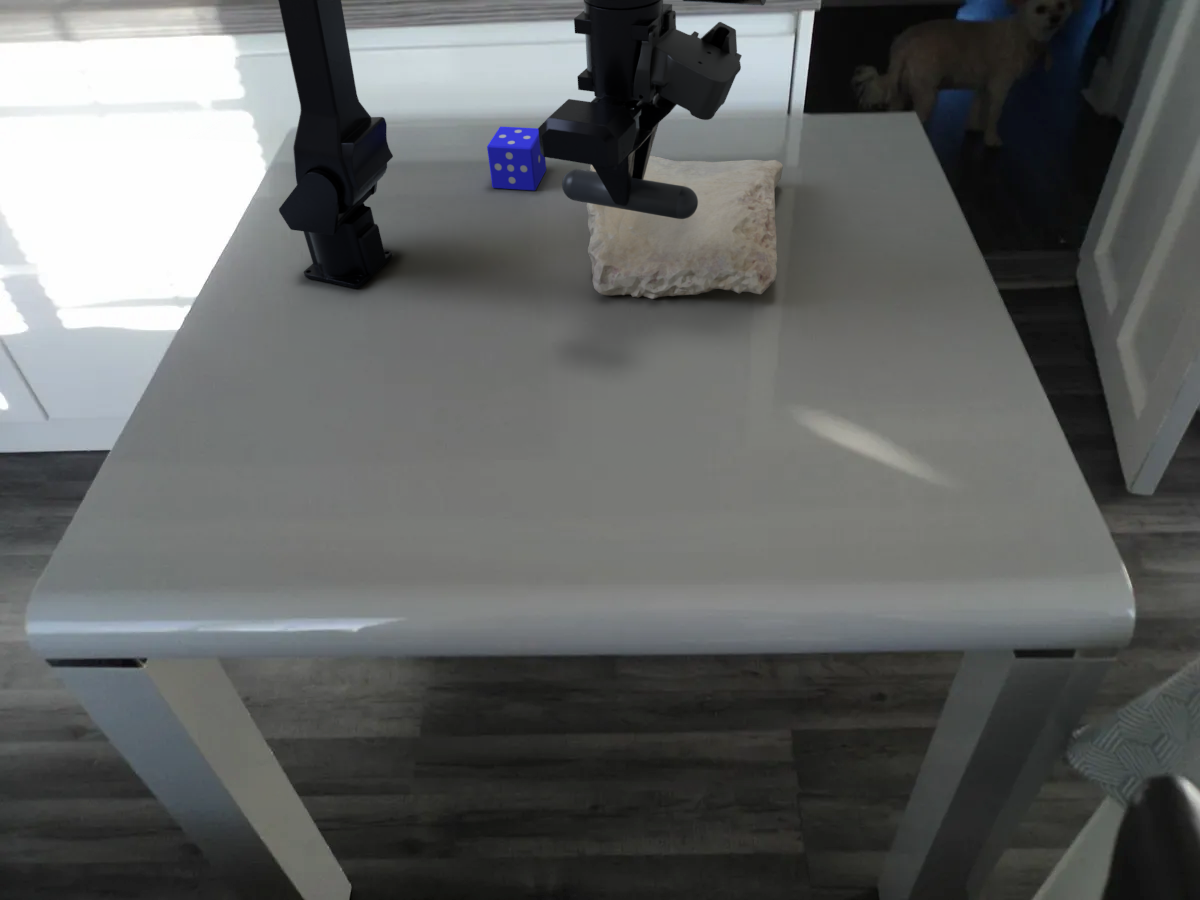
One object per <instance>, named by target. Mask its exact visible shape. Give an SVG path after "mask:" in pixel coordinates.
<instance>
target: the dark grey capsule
mask: <svg viewBox="0 0 1200 900" xmlns="http://www.w3.org/2000/svg"><path fill="white" fill-rule="evenodd" d="M561 187H562V191H563V193H564V195H565V196H566V197H567V198H568V199H569V200H571V201H575V202H581V203H585V204H587V203H591V204H597V205H603V206H608V207H614V208H620V209H625V210H631V211H637V212H642V213H648V214H654V215H659V216H665V217H671V218H676V219H686V218H689V217H690V216H692V215H693V214H694V213H695V211H696V209H697V206H698V199H697V196H696V194H695V192H694V191H693V190H692V189H690V188H688V187H685V186H680V185H673V184H667V183H661V182H655V181H649V180H643V179H637V178H632V182H631V190H630V196H629V201H628V204H627V205H626V206H622V205H617V204H615V203H614V202H613V200H612V198H611V196H610V195H609V193H608V191H607V190H606V188H605V186H604V184H603V183H602V181H601V179H600V177H599V176H598V174H597V172H594V171H591V170H587V169H581V168H573V169H571V170H569V171H568V172H567V173H566V174H565V175H564V176H563V179H562V181H561Z"/></svg>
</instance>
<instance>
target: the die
mask: <svg viewBox="0 0 1200 900" xmlns="http://www.w3.org/2000/svg"><path fill="white" fill-rule="evenodd" d="M538 128H539V127H537V128H536V127H519V126H518V127H516V126H499V127H498V129H497V131H496V132H495V133H494V135H493V137H492V138H491V139H490V141H489V143H488V144H487V146H486V149H487V157H488V165H489V171H490V178H491V179H490V180H491V187H492V188H493V189H498V190H499V189H500V190H517V191H531V192H532V191H533V192H535V191H536V190H537V188H538V187H539V184H540V183H541V181H542V179H543V177H544V175H545V173H546V172H547V165H546V163H547V162H546V157H544V156H543V155H542V154H541V153H540V142H539V131H538Z"/></svg>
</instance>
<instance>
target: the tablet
mask: <svg viewBox="0 0 1200 900" xmlns="http://www.w3.org/2000/svg"><path fill="white" fill-rule="evenodd" d="M783 168H784V166H783V164H782V163H781V162H780V161H779V160H777V159H769V160H760V159H745V160H729V161H725V160H724V161H723V160H721V161H704V160H685V161H684V160H683V161H681V160H680V161H679V160H672V159H667V158H664V157H660V156H654V155H651V154H650V156H649V160H648V164H647V168H646V172H645V175H644V179H643V180H649V181H655V182H661V183H667V184H673V185H680V186H685V187H688V188H690V189H692V190H693V191H694V192H695V194H696V196H697V199H698V206H697V209H696V211H695V213H694V214H693V215H692V216H690V217H689V218H686V219H676V218H671V217H665V216H659V215H654V214H648V213H642V212H637V211H631V210H625V209H620V208H614V207H608V206H603V205H597V204H591V203H586V210H587V214H588V219H587V226H588V231H589V234H590V237H589V238H590V239H589V245H588V248H587V253H588V254H587V255H588V256H589V258H590V259H589V260H590V262H591V274H592V279H591V281H592V284H593V288H594V290H595V291H596V292H597V293H599V294H600V295H602V296H625V295H631V298H640V297H645V298H648V299H651V300H655V299H657V298H661V297H662V298H663V297H667V296H669V297H674V296H675V297H676V296H690V295H691V296H693V295H695V296H696V295H697V296H698V295H699V294H703V293H704V294H705V293H709V292H711V291H713V290H723V291H733V292H734V293H737V294H741V293H742V292H745V293H747V292H748V293H753V294H756V295H762V294H763V293H765V291H766V290H767V289H768V288H769V287H770V286H771V285H772V284H773V283H774V282H775V281H776V276H777V275H778V274H777V273H778V270H777V264H778V255H777V254H778V251H777V243H778V242H777V228H776V199H775V198H776V197H775V196H776V195H775V194H776V193H775V189H776V188H777V186H778V184H779V183H780V181H781V180H782V179H781V178H782V173H783ZM589 171H594V172H596V170H595V169H594V167H593V166H592V165H591V164H590V166H589Z"/></svg>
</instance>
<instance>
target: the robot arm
mask: <svg viewBox="0 0 1200 900" xmlns="http://www.w3.org/2000/svg"><path fill="white" fill-rule="evenodd" d="M682 1H683V2H687V3H688V2H689V3H704V4H705V3H706V4H707V3H708V4H722V5H723V4H725V5H726V4H727V5H745V6H759V7H761V6H762V7H763V6H765V4H766V2H767V0H682ZM277 4H278V8H279V12H280V16H281V21H282V27H283V31H284V35H285V41H286V45H287V50H288V54H289V58H290V59H289V60H290V64H291V68H292V74H293V77H294V83H295V87H296V93H297V96H298V101H299V106H300V107H299V108H300V112H299V118H298V123H297V127H296V132H295V137H294V141H293V164H294V165H293V166H294V179H295V183H296V186H295V187H294V188H293V189H292V191H291V192H290V194H289V195H288V196H287V197H286V199H285V200H284V202H283V203H282V204H281V205H280V207H279V208H278V212H279V214H280V215H281V217H282V218H283V220H284V221H285V223H286V225H287V226H288V229H290V230H291V231H296V232H297V231H298V232H303V235H304V239H305V242H306V245H307V248H308V251H309V254H310V259H311V262H312V264H310V265H309V266H308V267H307V268H306V269H305V270H304V271H303V276H304V277H305V278H307V279H311V280H316V281H320V282H324V283H330V284H335V285H338V286H343V287H346V288H347V287H348V288H353V289H359V288H360V287H361V288H362V287H363V285H364V284H365V283H366V282H367V281H369V279H371V278H372V277H373V276H374V275H375V274H376V273H377V272H378V271H379V270H380V269H382V268H383V266H384V265H386V263H388V261H390V260H391V259H392V258H393V255H394V254H393V251H392V250H389V249H385V248H384V245H383V244H384V243H383V241H382V236H381V233H380V232H381V231H380V228H379V225H378V224H377V223H375V218H374V215H373V210H372V207H371V206H367V205H365V202H366V201H367V200H368V199H369V198H370V197H371V196H373V195H375V193H376V192H377V190H378V189H377V188H378V182H379V181H380V180H381V179H382V178H383V177H384V175H385V174H386V172H387V169H388V163H389V162H390V161H391V160H392V159H393V158H394V156H393V155H394V154H393V153H392V151H391V149H390V147H389V143H388V139H387V130H388V129H387V128H388V127H387V126H388V125H387V121H386V118H385V117H383V116H371V115H370V113H369V112H368V111H367V109H366V108H365V107H364V106H363V105H362V103H361V102H360V100H359V97H358V93H357V87H356V82H355V76H354V70H353V64H352V57H351V51H350V45H349V40H348V34H347V28H346V21H345V15H344V9H343V4H342V0H277ZM676 18H677V12H676V10H673V4H672V3H664V0H583V11H581V12H580V13H579V14H578V15H577V16H575V17H574V18H573V24H574V34H578V35H584V36H585V54H586V55H585V56H586V68H585V69H584V70H583V71H582V72H580V73H579V74H578V75H577V90H578V91H583V92H592V93H593V95H594V98H593V99H592V100H591V101H585V100H578V99H572V98H568V99H567V100H566V101H565V102H563V103H562V105H560V106H559V107H558V108H557V109H556V110H555V111H554V112H553V113H551V115H549V116H548V117H547V118H546V119H545V120H544V122H542V123H541V124H540V125H539V127H537V128H538V131H539V142H540V153H541V154H542V155H543V156H544V157H545V158H548V159H554V160H561V161H567V162H572V163H579V164H585V165H590V166H591V165H592V166H593V167H594V169H595V170H596V172H597V174H598V176H599V177H600V179H601V181H602V183H603V184H604V186H605V188H606V190H607V191H608V193H609V195H610V196H611V198H612V200H613V202H614V203H615V204H617V205H622V206H626V205H627V204H628V201H629V196H630V190H631V182H632V178H637V179H644V175H645V172H646V168H647V164H648V160H649V156H650V155H651V152H652V149H653V144H654V141H655V138H656V134H657V131H658V127H659V124H660V122H661V121H663V120H664V119H665V118H666V117H667V116H668V115H669V114H670V113H671V112H672V111H673V110H674V109H675V108H676V106H679V107H681V108H683V109H685V110H687V111H688V112H689V114H690V115H691V116H692V117H694V118H697V119H699V120H702V121H709V120H712V119H713V118H714V116H716V114H717V112H718V110H719V109H720V108H721V106H723V105H724V104H725V102H726V100H727V98H728V95H729V93H730V90H731V88H732V85H733V84H734V81H735V79H736V77H737V75H738V74H739V73H740V71H741V70H742V69H741V68H742V66H741V58H742V54H740V53H738V46H737V44H738V43H737V42H738V41H737V30H736V28H734V27H732V26H730V25H728V24H726V23H724V22H722V21H718V22H717V23H716V24H715V25H714V26H713V27H712V28H711V29H708V31H707V32H706V33H704V34H703V36H702V37H699V36H700V33H699V32H697V31H693V32H692V33H691V34H688V33H685V32H683V31H681V30H679V29H677V19H676Z"/></svg>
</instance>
